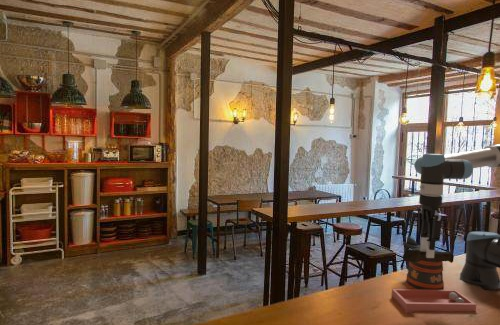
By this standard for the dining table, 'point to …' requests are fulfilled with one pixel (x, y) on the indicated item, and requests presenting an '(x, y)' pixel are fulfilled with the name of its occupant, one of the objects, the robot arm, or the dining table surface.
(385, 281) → the dining table surface
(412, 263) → the beer stein
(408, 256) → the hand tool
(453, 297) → the light grey ball
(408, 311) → the pink tray
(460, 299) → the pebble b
